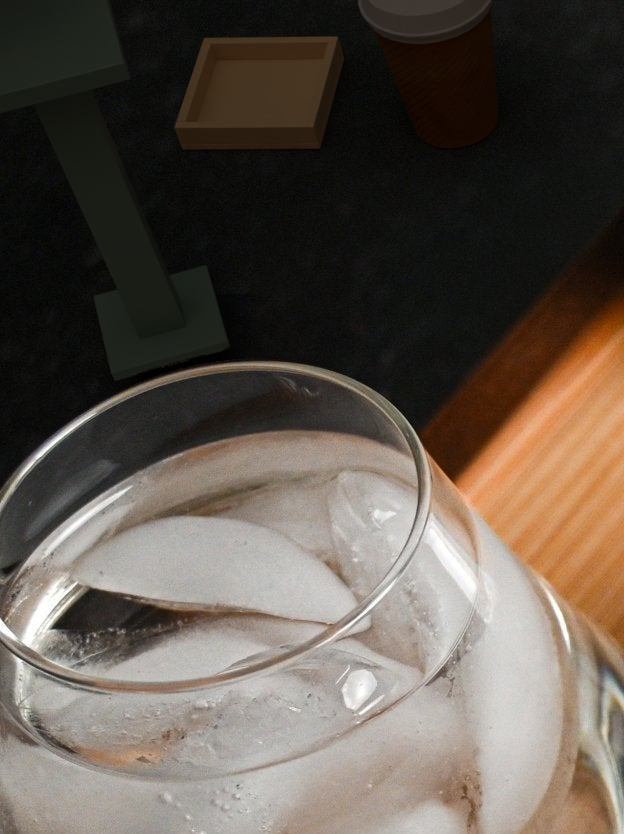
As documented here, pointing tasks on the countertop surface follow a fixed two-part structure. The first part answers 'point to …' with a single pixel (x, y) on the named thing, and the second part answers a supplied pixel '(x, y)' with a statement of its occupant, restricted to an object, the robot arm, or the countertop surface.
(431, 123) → the disposable coffee cup
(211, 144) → the tray
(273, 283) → the countertop surface
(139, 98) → the countertop surface
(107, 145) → the stand
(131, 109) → the countertop surface
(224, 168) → the countertop surface
